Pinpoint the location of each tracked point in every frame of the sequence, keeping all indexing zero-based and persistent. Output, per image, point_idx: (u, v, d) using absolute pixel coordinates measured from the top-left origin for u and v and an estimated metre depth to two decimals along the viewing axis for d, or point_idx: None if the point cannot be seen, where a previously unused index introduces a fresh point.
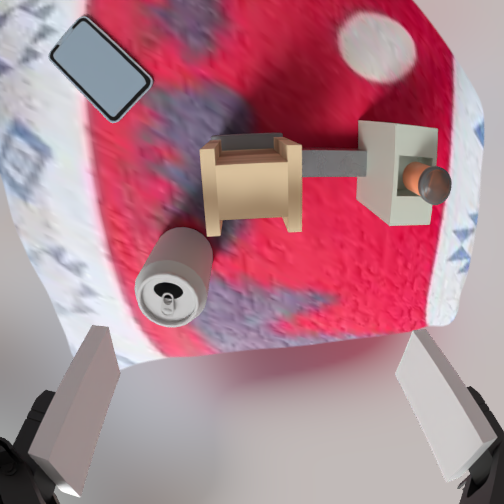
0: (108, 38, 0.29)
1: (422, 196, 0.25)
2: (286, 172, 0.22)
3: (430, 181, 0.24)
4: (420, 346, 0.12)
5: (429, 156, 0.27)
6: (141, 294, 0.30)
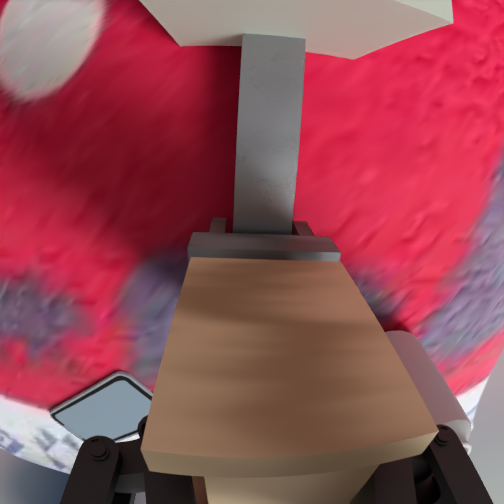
0: (71, 402, 0.26)
1: None
2: (238, 479, 0.06)
3: None
4: None
5: None
6: None
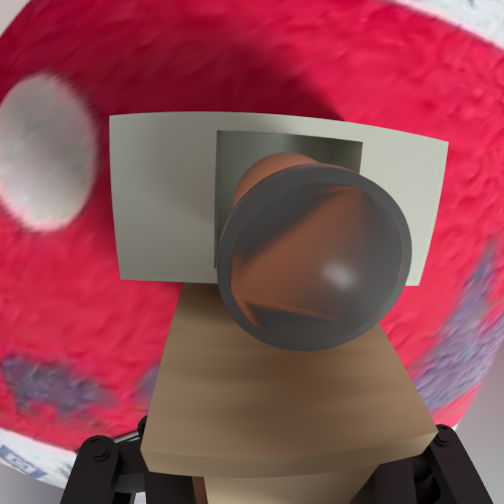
0: None
1: None
2: (237, 480, 0.06)
3: (292, 311, 0.06)
4: None
5: (211, 145, 0.08)
6: None
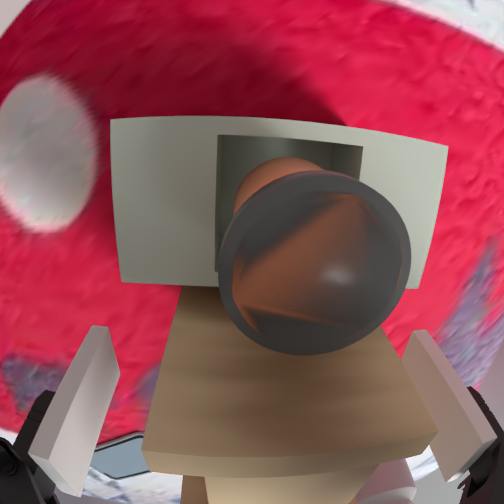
0: (96, 449, 0.29)
1: None
2: (238, 480, 0.06)
3: (292, 317, 0.06)
4: (420, 346, 0.12)
5: (212, 149, 0.08)
6: None
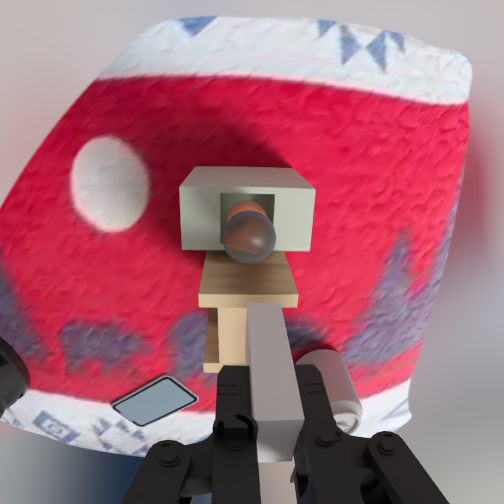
0: (130, 395, 0.45)
1: None
2: (228, 309, 0.21)
3: (242, 250, 0.21)
4: (265, 318, 0.14)
5: (218, 198, 0.23)
6: None
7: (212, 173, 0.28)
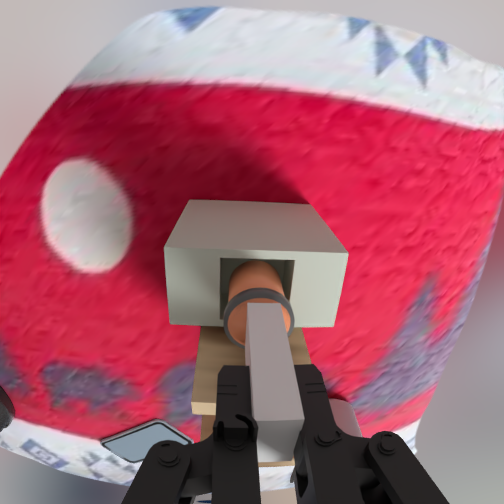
0: (120, 436, 0.38)
1: None
2: None
3: None
4: (265, 318, 0.14)
5: (217, 264, 0.17)
6: None
7: (210, 216, 0.22)
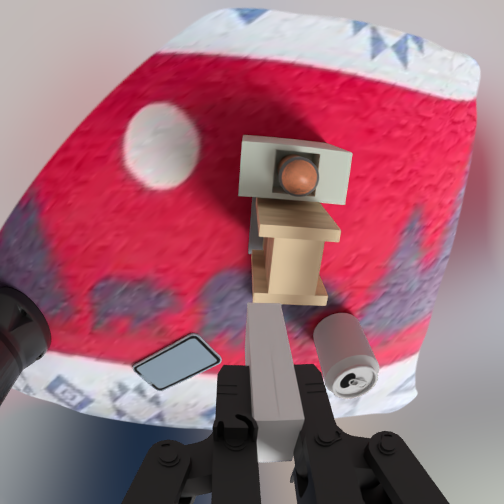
0: (154, 356, 0.49)
1: None
2: (283, 239, 0.25)
3: (293, 185, 0.27)
4: (265, 318, 0.14)
5: (274, 153, 0.27)
6: (344, 395, 0.38)
7: (262, 138, 0.32)
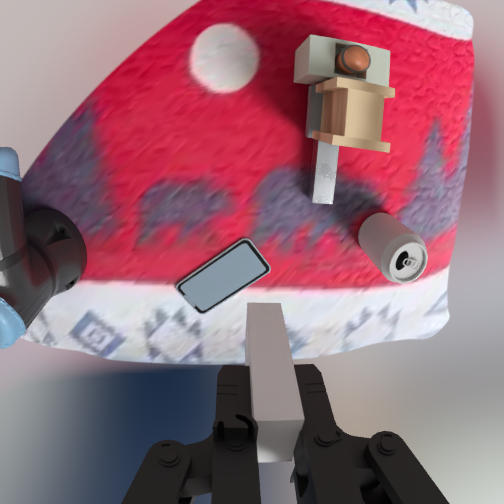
0: (201, 268, 0.51)
1: None
2: (355, 90, 0.28)
3: (353, 63, 0.29)
4: (265, 318, 0.14)
5: (334, 45, 0.30)
6: (399, 279, 0.41)
7: None
